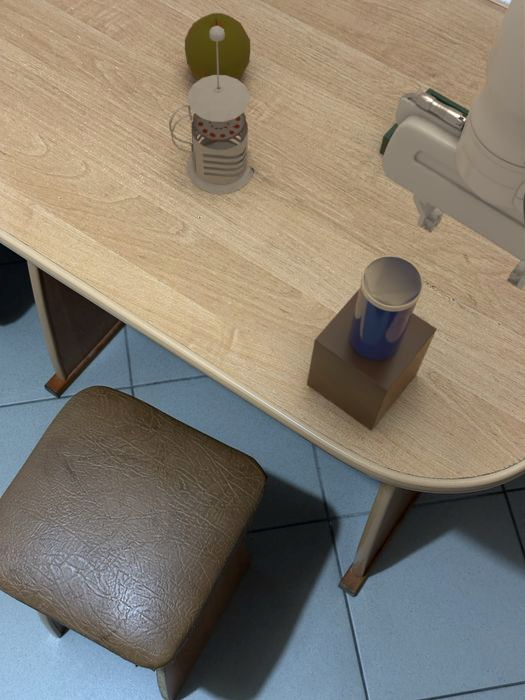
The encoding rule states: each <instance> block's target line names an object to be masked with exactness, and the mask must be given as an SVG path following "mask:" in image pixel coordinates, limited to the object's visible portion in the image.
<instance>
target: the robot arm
mask: <svg viewBox="0 0 525 700" xmlns="http://www.w3.org/2000/svg"><path fill="white" fill-rule="evenodd" d="M490 47H491V48H490V50H489V53H488V56H487V59H486V65H485V81H484V83H482V85H481V86H480V87H479V89H478V90H477V91H476V93H475V95H474V97H473V99H472V102H471V104H470V107H469V109H468V110H469V113H468V116H466V115H464V114H463V113H461V112H459V111H458V110H456V109H454V108H452V107H450V106H447V105H445V104H443V103H441V102H439V101H437V100H436V98H435V97H433V96H432V95H430V94H427V93H425V92H424V91H420V93H416V92H407V93H405V94H403V95H402V96H401V97H400V98H399V100H398V102H397V106H396V111H395V123H396V122H397V124H398V128H397V129H396V130H395V132H394V133H393V135H392V137H391V139H390V141H389V143H388V145H387V148H386V150H385V153H384V155H382V159H381V163H380V165H381V169H382V171H383V173H384V174H385V176H386V178H387V179H389V180H390V181H392V182H393V183H394V184H397V185H398V186H400V187H401V188H403V189H405V190H406V191H408V192H410V193H411V194H412V195H413V196H412V199H413V203H414V204H415V207H416V210H417V213H418V215H419V218H418V220H417V224H416V225H417V226H418V227H420V228H421V229H424V230H425V231H427V232H429V233H430V234H431V233H433V232H434V231H435V228H437V227H438V225H439V224H440V223H441V221H442V217H443V216H444V215H447V216H449V217H450V218H452V219H453V220H454V221H457V222H458V223H460V224H462V225H463V226H465V227H466V228H468V229H470V230H471V231H473V232H475V233H476V234H477V235H479V236H481V237H483V238H484V239H485V240H487V241H489V242H490V243H492V244H494V245H495V246H497V247H498V248H500V249H502V250H503V251H505V252H507V253H508V254H510V255H512V256H513V257H515V258H517V259H518V260H519V262H518V263H517V264H516V266H515V267H514V268H513V269H512V271H511V272H510V274H509V276H508V278H507V280H506V282H508V283H510V284H511V285H513V286H514V287H516V288H517V289H519V290H523V288H524V287H525V0H510V2H509V4H508V6H507V9H506V11H505V13H504V15H503V18H502V20H501V22H500V24H499V27H498V29H497V32H496V34H495V37H494V39H493V43H492V45H491V46H490Z"/></svg>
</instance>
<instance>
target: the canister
mask: <svg viewBox="0 0 525 700" xmlns="http://www.w3.org/2000/svg"><path fill="white" fill-rule="evenodd" d="M359 289H360V290H359ZM359 289H358V290H359V294H358V298H357V302H356V306H355V310H354V314H353V318H352V322H351V326H350V329H349V341H350V344H351V346H352V348H353V349H354V350H355V352H356V353H358V354H359V355H360V356H362V357H364V358H366V359H369V360H375V361H380V360H385V359H388V358H390V357H392V356H393V355H394V354H395V353H396V352H397V351H398V350H399V348H400V345H401V343H402V340H403V338H404V335H405V332H406V330H407V327H408V324H409V322H410V319H411V316H412V314H414V311H415V308H416V305H417V303H418V301H419V299H420V298H421V296H422V293H423V289H424V278H423V276H422V273H421V271H420V270H419V269H418V267H417V265H416V264H414V263H413V262H411V260H409V259H406V258H404V257H402V256H398V255H390V254H389V255H382V256H378V257H376V258H374V259H373V260H371V261H369V263H368V264H366V265H365V267H364V269H363V271H362V274H361V279H360V286H359Z"/></svg>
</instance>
